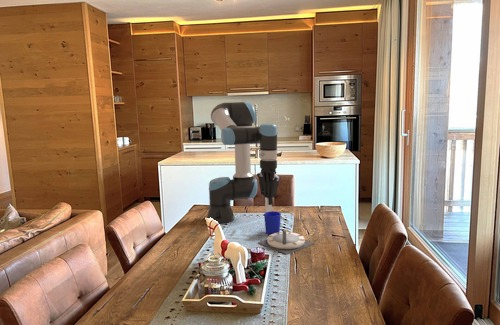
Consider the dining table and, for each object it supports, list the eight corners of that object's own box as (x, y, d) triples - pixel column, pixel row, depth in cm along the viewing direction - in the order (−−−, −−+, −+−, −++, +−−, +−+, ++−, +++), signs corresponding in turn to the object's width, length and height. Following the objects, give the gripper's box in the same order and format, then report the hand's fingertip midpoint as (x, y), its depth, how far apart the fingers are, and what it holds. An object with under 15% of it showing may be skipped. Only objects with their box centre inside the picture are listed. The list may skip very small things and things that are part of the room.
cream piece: (276, 251, 162) (276, 233, 161) (261, 238, 178) (261, 222, 176) (311, 245, 167) (311, 229, 166) (294, 233, 183) (294, 218, 182)
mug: (281, 228, 195) (281, 209, 193) (280, 236, 183) (280, 216, 181) (265, 227, 195) (265, 209, 194) (263, 235, 184) (263, 215, 182)
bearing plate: (258, 243, 174) (258, 237, 173) (285, 234, 185) (285, 228, 185) (286, 254, 160) (286, 247, 160) (314, 244, 172) (314, 237, 171)
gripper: (252, 158, 168) (252, 209, 172) (272, 162, 158) (272, 216, 162) (264, 156, 173) (264, 206, 177) (285, 160, 163) (284, 212, 167)
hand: (268, 211), depth 169 cm, fingers closed
